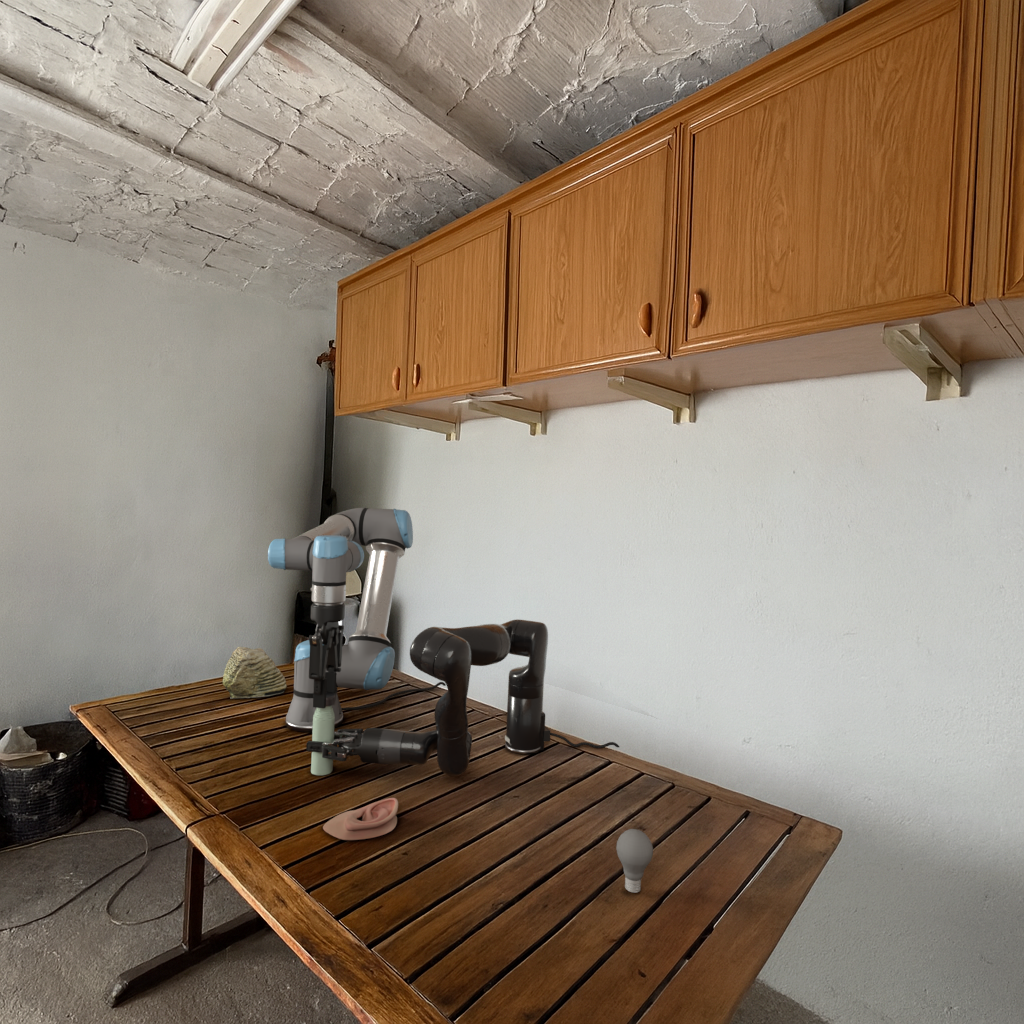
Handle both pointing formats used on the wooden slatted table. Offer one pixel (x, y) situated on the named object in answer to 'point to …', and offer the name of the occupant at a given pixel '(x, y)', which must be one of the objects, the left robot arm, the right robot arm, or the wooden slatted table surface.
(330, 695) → the cap
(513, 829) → the wooden slatted table surface
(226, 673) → the fossil
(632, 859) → the light bulb
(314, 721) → the bottle
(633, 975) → the wooden slatted table surface
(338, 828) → the anatomical model
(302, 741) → the wooden slatted table surface
